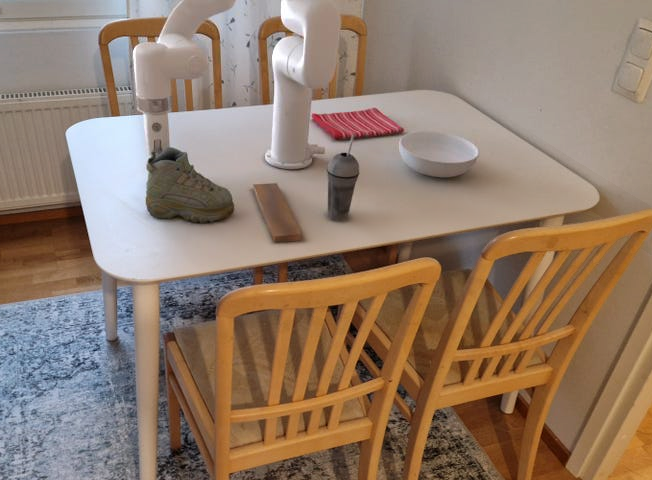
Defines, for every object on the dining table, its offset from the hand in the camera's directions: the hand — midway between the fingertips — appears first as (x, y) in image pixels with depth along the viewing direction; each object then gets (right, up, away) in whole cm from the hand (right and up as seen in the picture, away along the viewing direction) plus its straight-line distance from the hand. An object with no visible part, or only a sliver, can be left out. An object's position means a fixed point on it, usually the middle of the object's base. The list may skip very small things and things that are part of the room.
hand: (158, 177), depth 150 cm
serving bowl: (+70, +5, +21) cm, 73 cm away
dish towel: (+51, +21, +42) cm, 70 cm away
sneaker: (+9, -9, -6) cm, 14 cm away
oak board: (+28, -9, -4) cm, 29 cm away
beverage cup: (+42, -10, -3) cm, 43 cm away
